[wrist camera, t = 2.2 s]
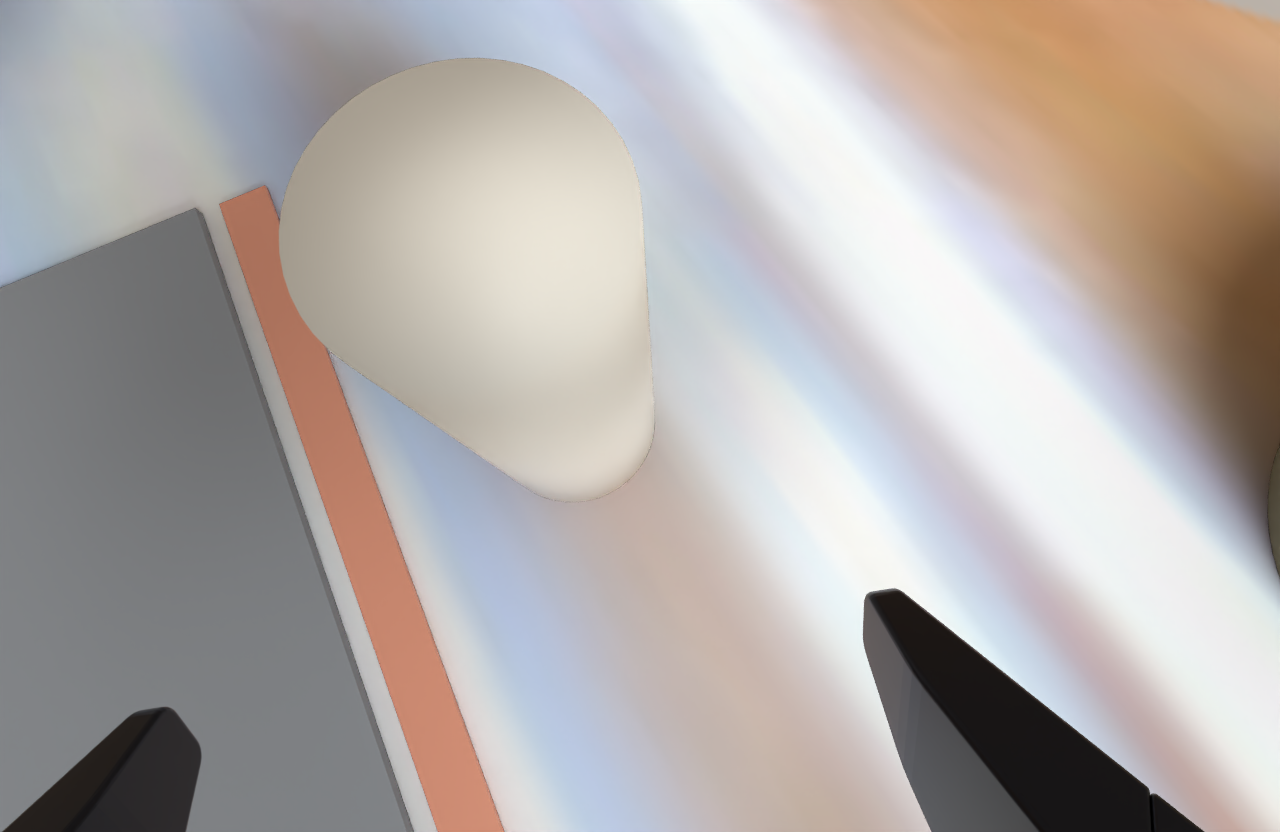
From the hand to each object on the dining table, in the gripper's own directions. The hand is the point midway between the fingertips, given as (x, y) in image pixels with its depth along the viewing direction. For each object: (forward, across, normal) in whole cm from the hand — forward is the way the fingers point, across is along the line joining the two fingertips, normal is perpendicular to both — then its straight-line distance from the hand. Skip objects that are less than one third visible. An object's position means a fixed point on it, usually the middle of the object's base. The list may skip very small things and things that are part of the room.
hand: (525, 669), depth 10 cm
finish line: (+12, +7, +5) cm, 15 cm away
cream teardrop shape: (+13, 0, +4) cm, 14 cm away
